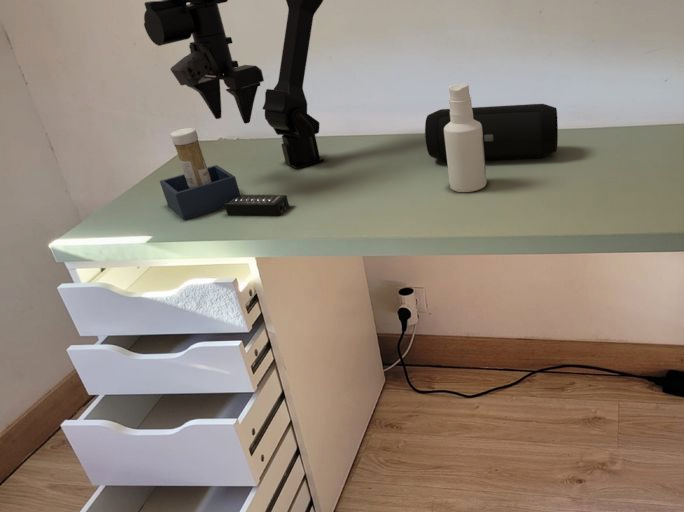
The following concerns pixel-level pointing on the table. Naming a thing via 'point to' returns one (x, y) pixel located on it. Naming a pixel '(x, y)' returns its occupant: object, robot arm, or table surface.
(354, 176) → the table surface
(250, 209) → the multiport hub
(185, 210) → the tub
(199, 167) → the sprinkles bottle
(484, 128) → the portable speaker
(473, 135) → the spray bottle
